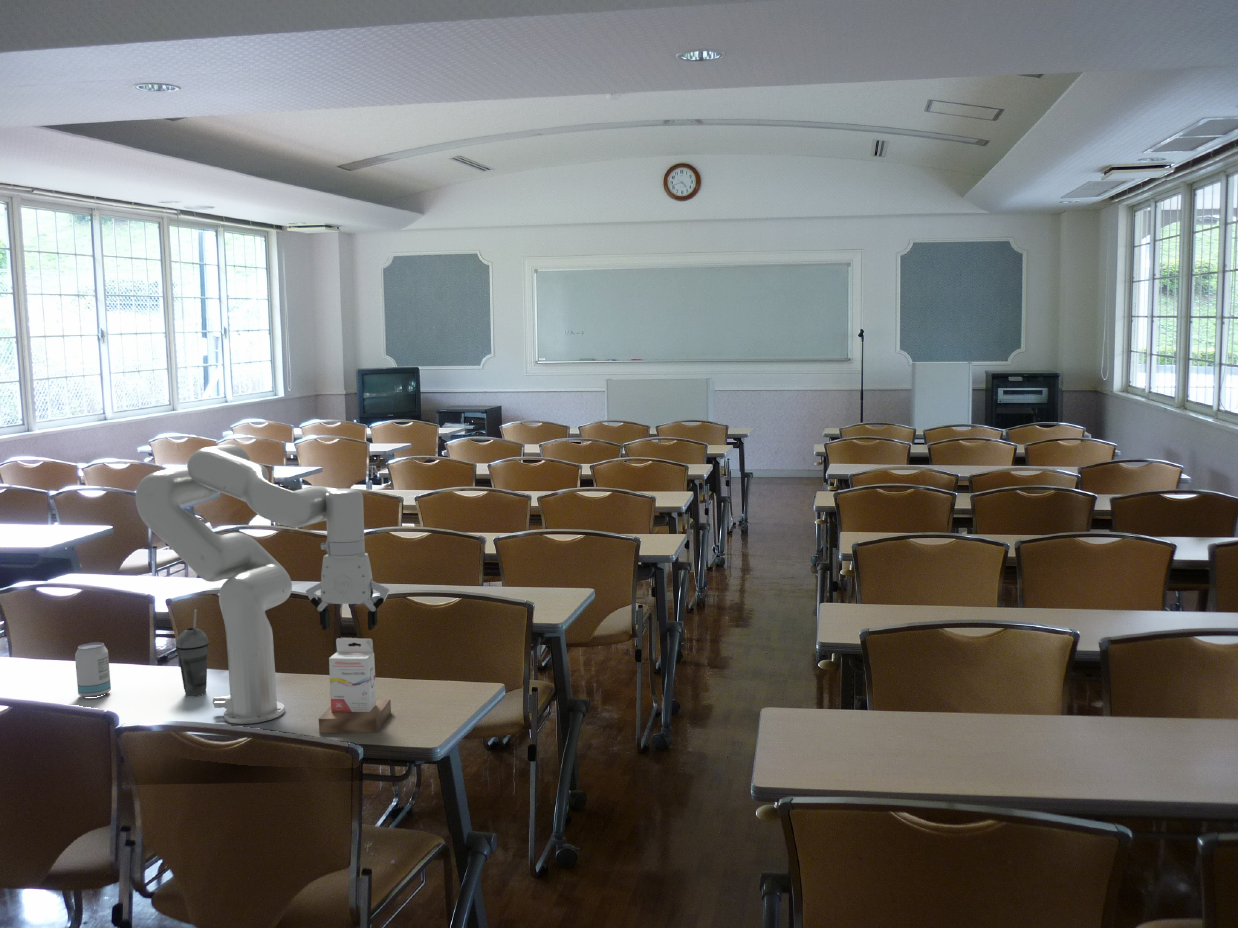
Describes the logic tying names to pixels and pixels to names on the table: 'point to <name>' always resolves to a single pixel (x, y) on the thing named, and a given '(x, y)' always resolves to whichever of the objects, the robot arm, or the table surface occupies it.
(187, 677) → the beverage cup
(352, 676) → the ink cartridge box
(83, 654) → the beverage can
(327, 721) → the walnut base plate
